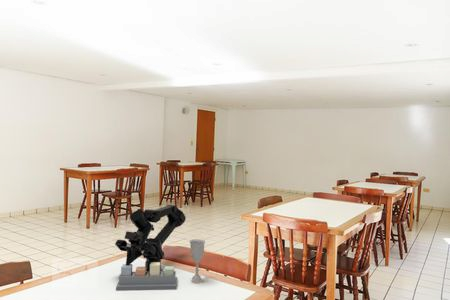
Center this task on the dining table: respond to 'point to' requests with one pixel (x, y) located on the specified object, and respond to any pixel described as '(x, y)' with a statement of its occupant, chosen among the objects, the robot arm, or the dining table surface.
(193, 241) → the chalice
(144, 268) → the peach rectangular block
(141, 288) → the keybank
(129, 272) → the key blue
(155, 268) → the block
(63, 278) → the dining table surface
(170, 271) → the key sage
